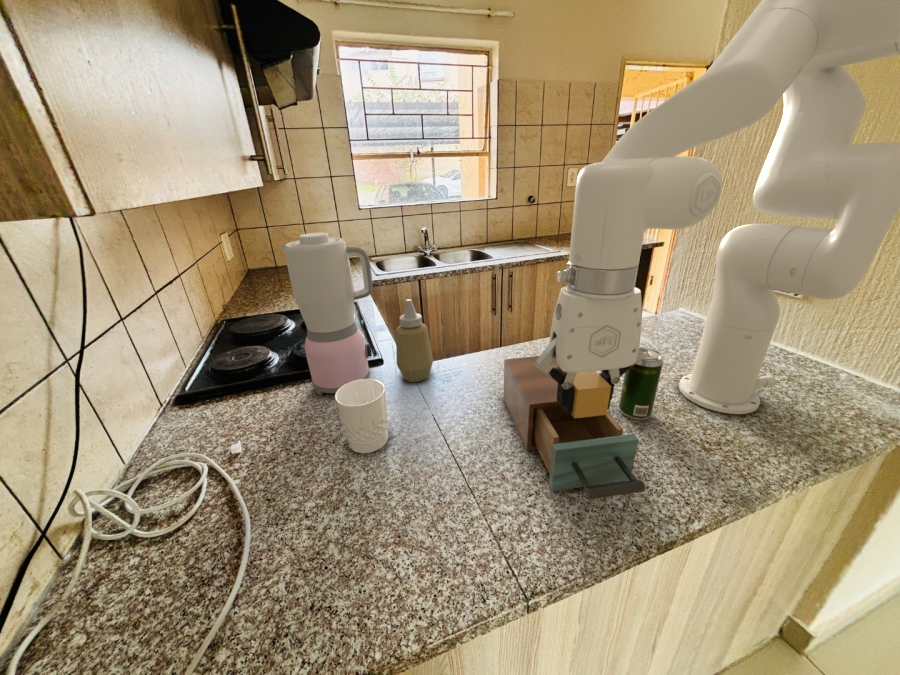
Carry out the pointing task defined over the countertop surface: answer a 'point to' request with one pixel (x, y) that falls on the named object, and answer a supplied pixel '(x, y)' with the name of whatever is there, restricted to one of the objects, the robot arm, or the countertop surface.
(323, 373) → the blender
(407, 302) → the squeeze bottle
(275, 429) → the countertop surface
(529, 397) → the wooden drawer cabinet
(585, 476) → the open teal drawer
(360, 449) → the white cup
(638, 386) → the beer can
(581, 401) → the mustard brown cube
